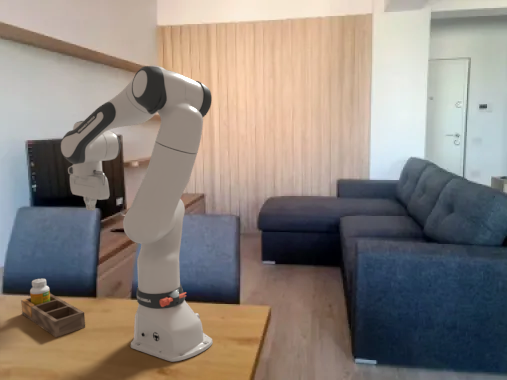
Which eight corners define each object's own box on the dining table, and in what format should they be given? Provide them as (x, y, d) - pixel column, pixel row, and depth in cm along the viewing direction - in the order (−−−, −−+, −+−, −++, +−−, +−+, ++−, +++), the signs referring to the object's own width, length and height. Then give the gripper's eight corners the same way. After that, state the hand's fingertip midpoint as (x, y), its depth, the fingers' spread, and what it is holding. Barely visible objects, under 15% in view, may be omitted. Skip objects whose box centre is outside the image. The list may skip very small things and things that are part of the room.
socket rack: (85, 327, 132) (84, 311, 132) (55, 337, 126) (53, 321, 125) (49, 305, 148) (48, 291, 148) (21, 314, 142) (20, 299, 141)
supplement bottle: (46, 314, 139) (43, 283, 138) (28, 314, 139) (25, 283, 138) (53, 307, 145) (51, 277, 143) (37, 307, 145) (34, 277, 143)
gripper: (113, 170, 149) (115, 212, 151) (82, 167, 163) (85, 205, 165) (95, 172, 145) (97, 215, 147) (65, 168, 159) (68, 207, 161)
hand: (90, 210), depth 156 cm, fingers closed
